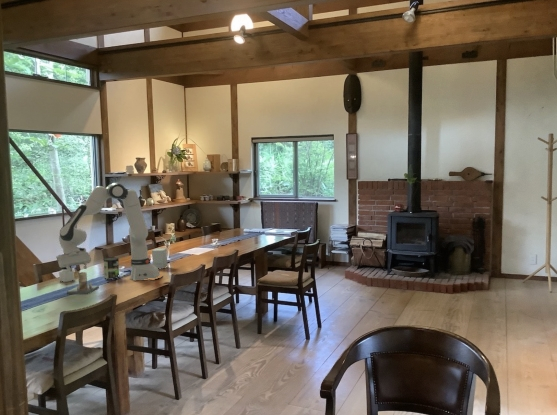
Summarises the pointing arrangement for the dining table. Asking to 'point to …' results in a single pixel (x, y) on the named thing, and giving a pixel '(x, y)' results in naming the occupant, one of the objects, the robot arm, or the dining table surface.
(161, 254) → the supplement box
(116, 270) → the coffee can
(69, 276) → the medicine bottle
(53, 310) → the dining table surface
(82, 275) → the birch peg
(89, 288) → the pin board
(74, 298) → the dining table surface
